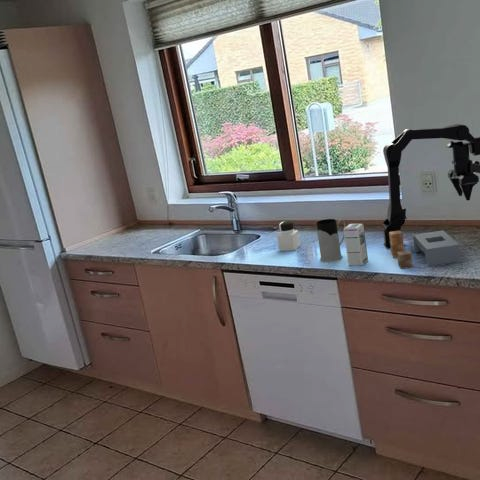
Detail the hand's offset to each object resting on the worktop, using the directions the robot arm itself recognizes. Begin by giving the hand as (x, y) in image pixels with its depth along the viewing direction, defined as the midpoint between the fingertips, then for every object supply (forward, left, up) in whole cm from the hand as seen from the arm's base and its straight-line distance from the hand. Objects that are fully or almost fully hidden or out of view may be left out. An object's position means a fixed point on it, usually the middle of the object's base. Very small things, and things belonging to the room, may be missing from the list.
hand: (464, 198), depth 217 cm
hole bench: (-17, -20, -15) cm, 30 cm away
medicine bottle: (-69, +17, -15) cm, 73 cm away
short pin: (-29, -27, -15) cm, 43 cm away
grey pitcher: (-51, -4, -15) cm, 54 cm away
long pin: (-29, -14, -15) cm, 36 cm away
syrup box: (-44, -16, -15) cm, 49 cm away
